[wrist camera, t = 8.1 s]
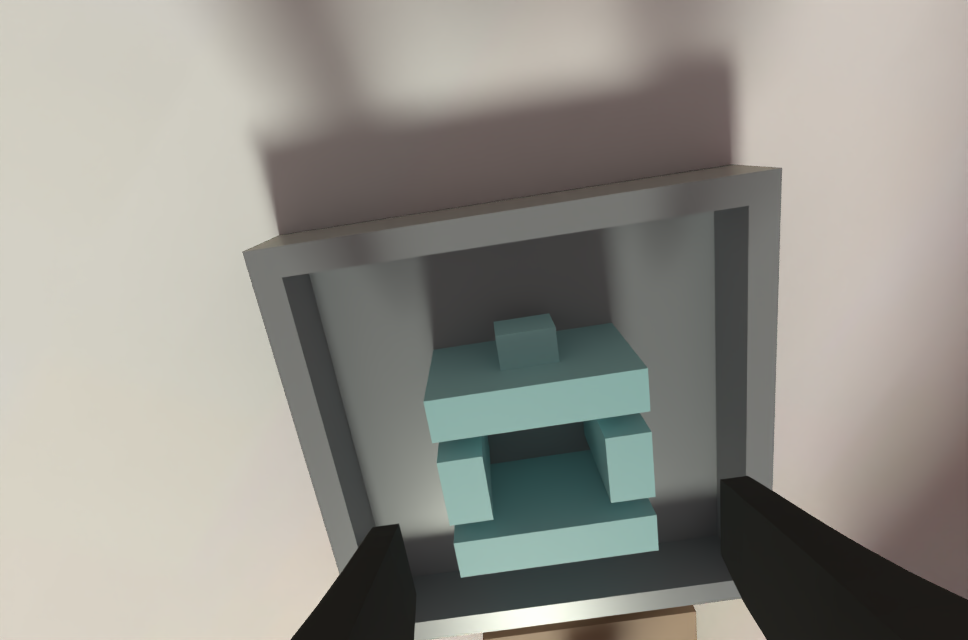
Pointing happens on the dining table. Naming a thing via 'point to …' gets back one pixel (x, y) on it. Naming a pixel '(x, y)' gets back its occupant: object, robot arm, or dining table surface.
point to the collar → (549, 479)
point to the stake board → (612, 627)
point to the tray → (571, 304)
